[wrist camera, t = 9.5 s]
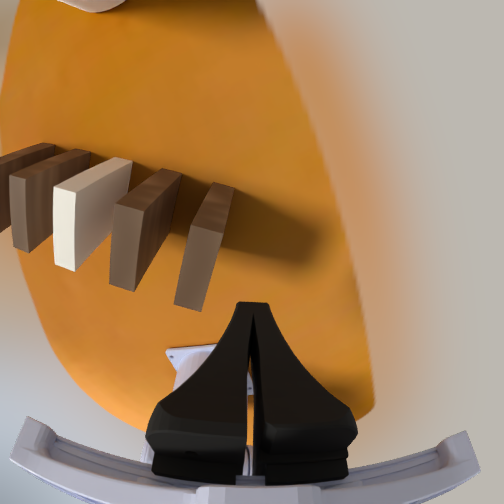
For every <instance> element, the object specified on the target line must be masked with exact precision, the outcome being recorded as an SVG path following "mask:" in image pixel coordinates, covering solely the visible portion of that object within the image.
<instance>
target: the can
mask: <svg viewBox="0 0 504 504" xmlns="http://www.w3.org/2000/svg"><path fill="white" fill-rule="evenodd" d="M58 1H61V2H63V3H66V4H69V5H71V6H74V7H77V8H79V9H82V10H84V11H88V12H102V11H106V10H109V9H111V8H114V7H116V6H118V5H119V4H121V3H123V2H124V1H125V0H58Z"/></svg>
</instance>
